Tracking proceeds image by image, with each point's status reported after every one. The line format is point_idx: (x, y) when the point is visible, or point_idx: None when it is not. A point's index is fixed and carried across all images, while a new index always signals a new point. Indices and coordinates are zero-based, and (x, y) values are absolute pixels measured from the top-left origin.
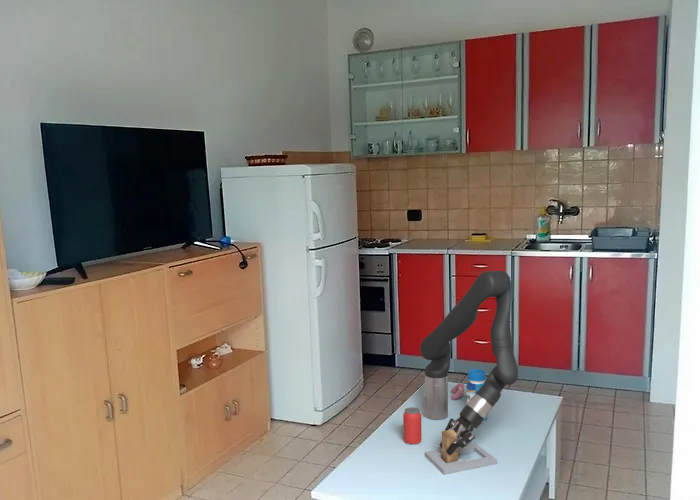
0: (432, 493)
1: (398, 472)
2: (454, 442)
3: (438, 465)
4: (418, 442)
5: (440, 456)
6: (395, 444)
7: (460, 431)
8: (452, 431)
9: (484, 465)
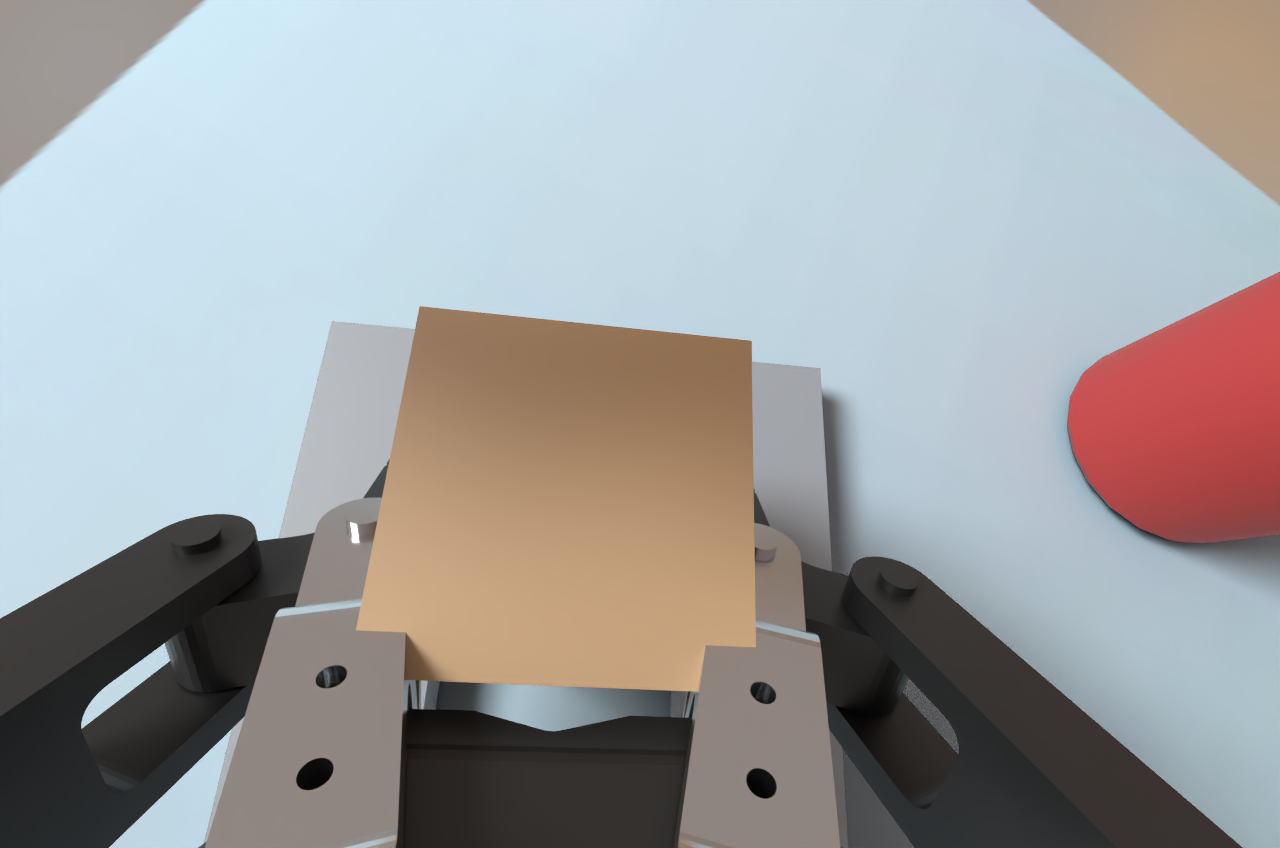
0: (133, 87)
1: (609, 56)
2: (356, 512)
3: None
4: (1084, 461)
5: None
6: (1101, 273)
7: (230, 803)
8: (622, 620)
9: None
